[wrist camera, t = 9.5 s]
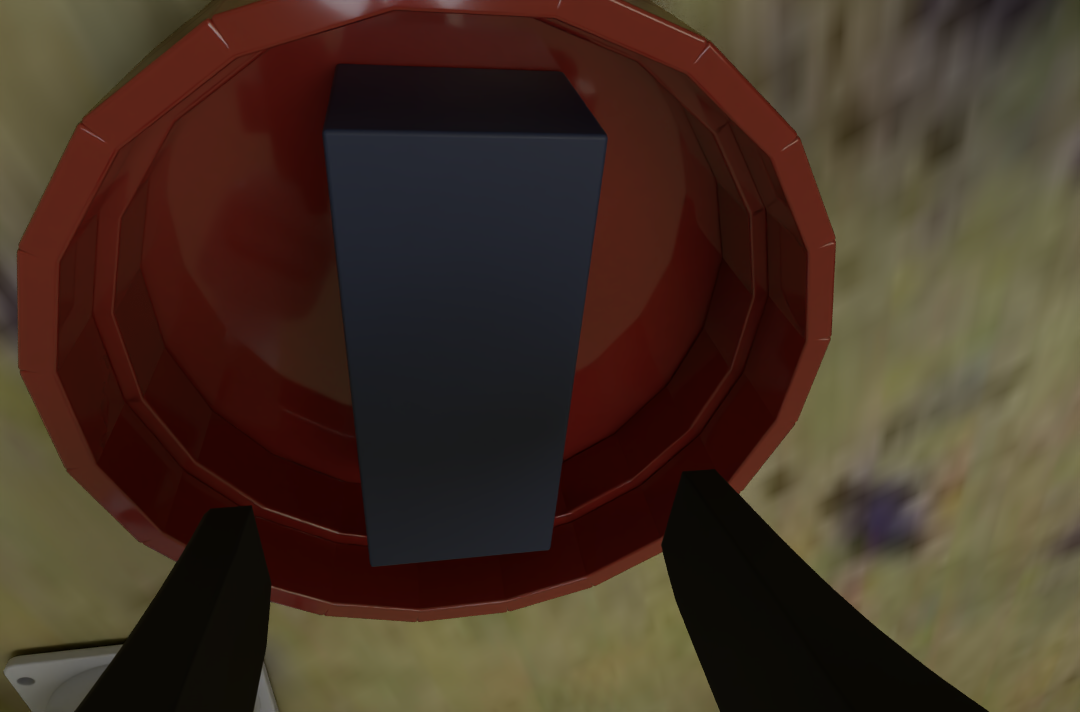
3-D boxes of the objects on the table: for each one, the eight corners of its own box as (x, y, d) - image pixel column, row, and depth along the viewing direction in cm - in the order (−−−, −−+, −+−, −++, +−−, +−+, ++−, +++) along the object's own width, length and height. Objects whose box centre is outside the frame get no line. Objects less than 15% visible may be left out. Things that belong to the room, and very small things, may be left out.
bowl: (679, 476, 24) (729, 588, 20) (190, 514, 21) (151, 653, 18) (830, -44, 15) (972, -1, 11) (-21, -106, 12) (-197, -74, 8)
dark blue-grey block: (527, 448, 21) (551, 551, 18) (372, 459, 20) (370, 568, 17) (563, 70, 14) (609, 135, 11) (335, 62, 14) (321, 129, 11)
